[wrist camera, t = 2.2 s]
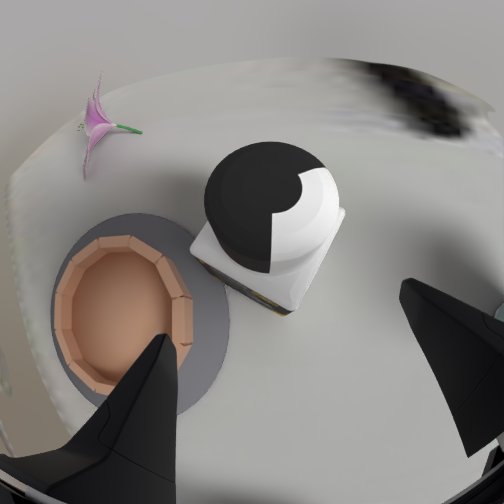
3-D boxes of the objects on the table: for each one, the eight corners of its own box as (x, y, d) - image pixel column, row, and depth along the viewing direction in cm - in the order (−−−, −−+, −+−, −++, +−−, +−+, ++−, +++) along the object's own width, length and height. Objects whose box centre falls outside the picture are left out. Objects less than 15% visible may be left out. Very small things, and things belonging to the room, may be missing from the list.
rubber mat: (167, 457, 19) (165, 459, 18) (34, 339, 22) (32, 339, 22) (273, 275, 22) (273, 274, 22) (108, 188, 26) (106, 186, 26)
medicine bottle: (208, 274, 22) (156, 217, 11) (252, 205, 24) (243, 106, 12) (284, 318, 21) (310, 305, 10) (324, 243, 23) (375, 165, 11)
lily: (122, 107, 31) (66, 88, 23) (176, 82, 25) (108, 48, 17) (104, 187, 32) (41, 177, 24) (154, 183, 26) (70, 165, 18)
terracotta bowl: (150, 421, 19) (139, 428, 17) (52, 334, 22) (39, 333, 20) (223, 289, 22) (217, 286, 20) (108, 220, 25) (96, 212, 23)
